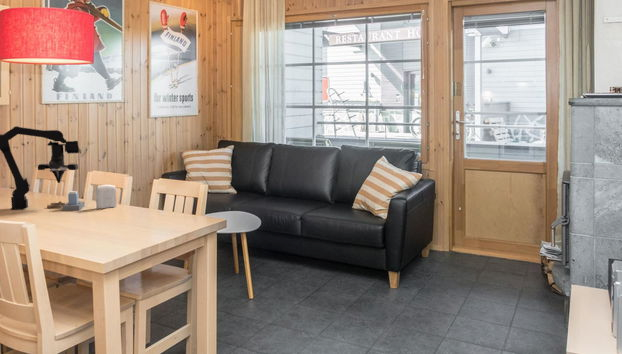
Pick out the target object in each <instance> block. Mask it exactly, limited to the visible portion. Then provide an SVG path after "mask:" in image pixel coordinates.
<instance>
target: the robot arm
mask: <svg viewBox="0 0 622 354" xmlns="http://www.w3.org/2000/svg"><path fill="white" fill-rule="evenodd" d="M17 135H23V136H30V137H38V138H44V139H47V140H49V142H48V143H46V146H48V147H49V146H50V148H51V156H50V160H49V162H48V163H40V164H38V165H37V170H38V171H45V170H47V169H48V170H49V172H51V173H52V174H53V175H54V177H55V179H56V181H57V183H58V184H60V183H61V181H62V178H63V175H64V173H65V172H67V171H68V170H69V171H74V170H75V171H76V170H79V164H78V163H69V164H65V155H64V152H65V153H67V154H69V155H70V154H79V153H80V147H79V141H78V140H71V141H69V140H68V141H67V140H66V139H65V137H64V134H63V132H62V131H60V130H59V129H47V130H44V129H36V128H30V127H29V128H28V127H21V126H19V125H16V126H13V128H11V129H9V130H8V131H7V132H5V133H3V134H2V133H1V134H0V151H1V153H2V154H3V156H4V159H5V161H6V163H7V166H8V167H9V170H10V173H11V175H12V177H13V179H14V185H15V189H14V190H12V193H11V196H12V197H10V198H11V200H10V201H11V202H10V203H11V208H10V210H25V209H27V208H29V201H28V198H27V195H26V194H28V193H29V191H30V186H31V184H30V183H29V181H28V178H27V177H23V175H22V173H21V172H20V169H19V166H18V164H17V162H16V159H15V158H14V154H13V153H12V149H11V146H10V140H12V139H13V138H15V137H16V136H17Z"/></svg>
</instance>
